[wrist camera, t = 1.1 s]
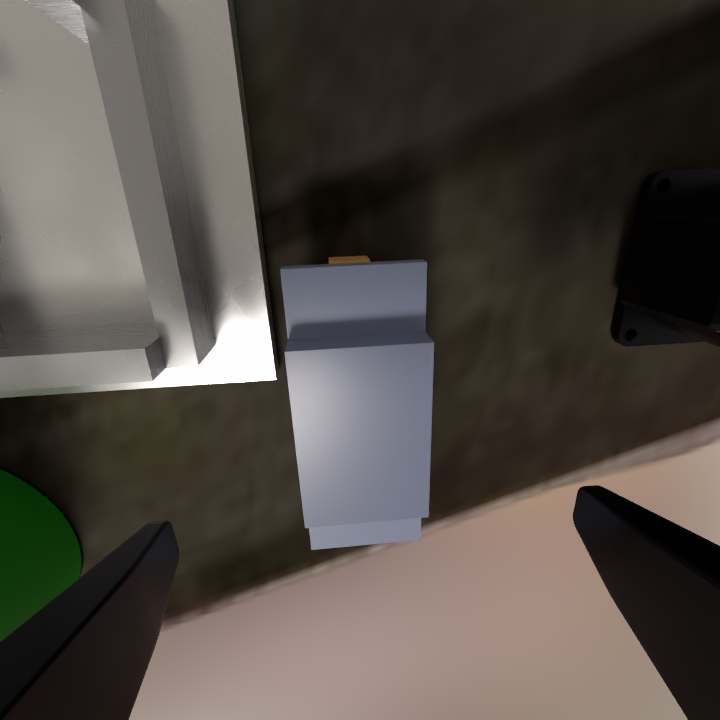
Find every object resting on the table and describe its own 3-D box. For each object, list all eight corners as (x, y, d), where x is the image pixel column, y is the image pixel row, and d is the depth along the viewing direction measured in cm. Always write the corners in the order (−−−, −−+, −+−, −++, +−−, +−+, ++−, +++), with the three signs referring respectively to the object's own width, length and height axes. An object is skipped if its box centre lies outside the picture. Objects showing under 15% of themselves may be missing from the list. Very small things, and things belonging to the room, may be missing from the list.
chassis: (226, -54, 11) (175, -188, 7) (278, 369, 16) (263, 419, 12) (-233, -53, 10) (-548, -201, 7) (-35, 389, 15) (-154, 449, 11)
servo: (401, 248, 14) (436, 267, 10) (401, 471, 18) (427, 562, 13) (292, 253, 14) (275, 275, 10) (314, 478, 18) (310, 574, 13)
